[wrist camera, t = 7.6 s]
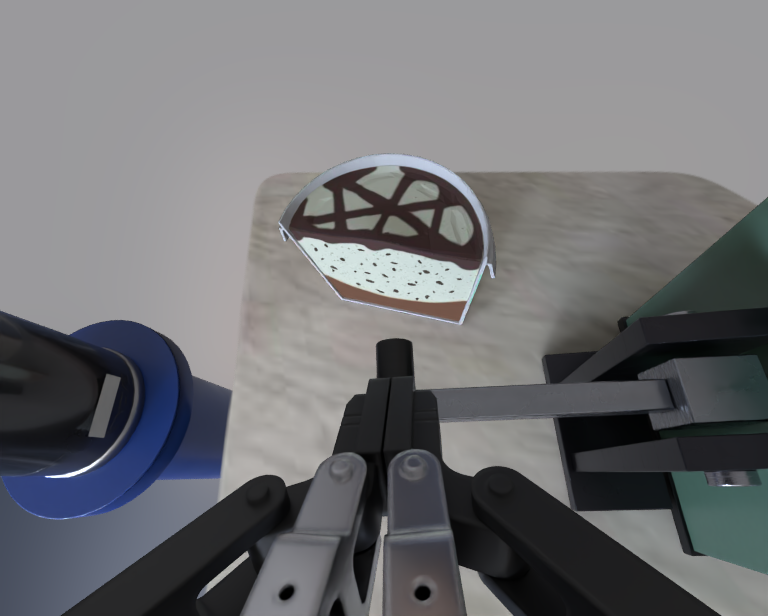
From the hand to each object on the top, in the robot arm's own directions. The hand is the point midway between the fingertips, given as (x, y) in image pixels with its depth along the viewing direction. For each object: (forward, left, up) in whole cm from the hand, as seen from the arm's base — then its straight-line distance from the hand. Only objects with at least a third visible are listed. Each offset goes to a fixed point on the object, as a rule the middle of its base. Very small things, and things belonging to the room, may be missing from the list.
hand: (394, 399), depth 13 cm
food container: (0, +12, -13) cm, 18 cm away
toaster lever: (+6, 0, -3) cm, 6 cm away
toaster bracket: (+11, 0, -13) cm, 17 cm away
